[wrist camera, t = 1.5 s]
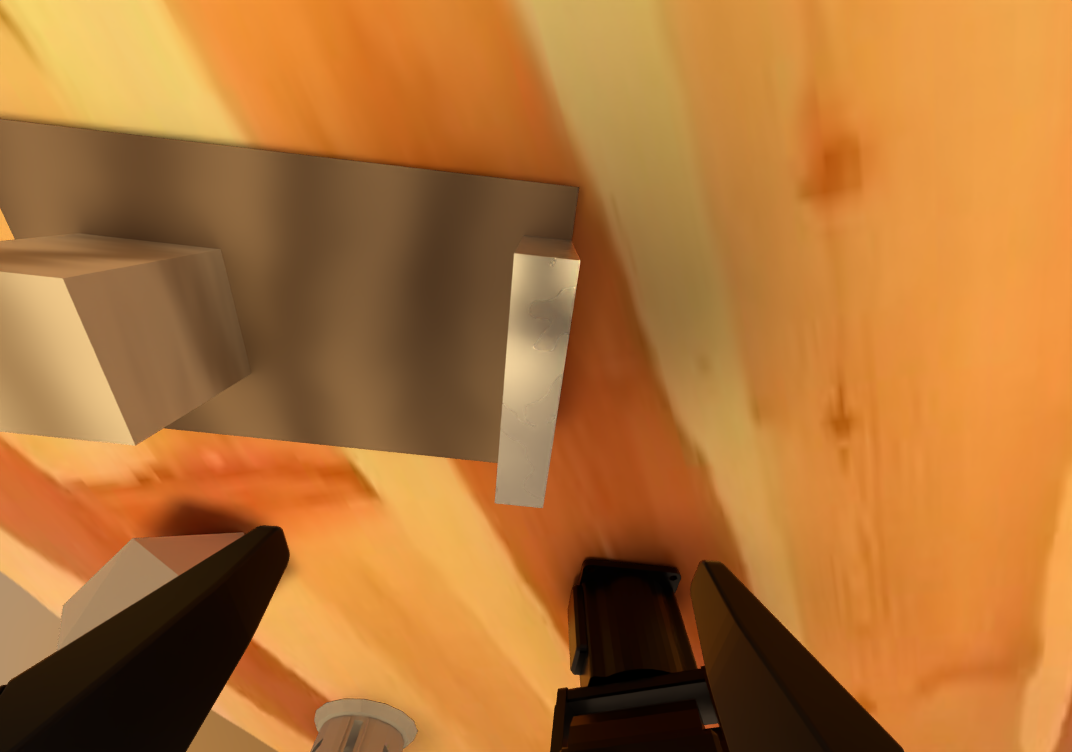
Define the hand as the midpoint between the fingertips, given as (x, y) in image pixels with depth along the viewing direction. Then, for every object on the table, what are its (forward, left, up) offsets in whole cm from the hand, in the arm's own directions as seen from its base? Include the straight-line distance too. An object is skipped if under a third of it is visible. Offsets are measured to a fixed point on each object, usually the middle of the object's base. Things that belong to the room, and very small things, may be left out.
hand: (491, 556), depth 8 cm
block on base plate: (+10, 0, -12) cm, 16 cm away
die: (+19, +18, -12) cm, 29 cm away
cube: (+16, 0, -11) cm, 20 cm away
